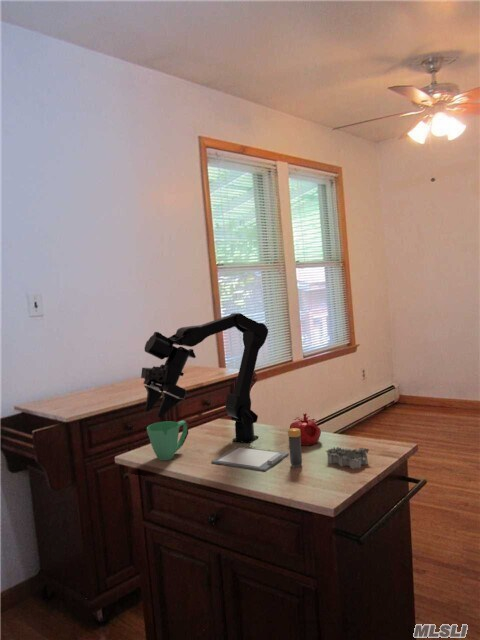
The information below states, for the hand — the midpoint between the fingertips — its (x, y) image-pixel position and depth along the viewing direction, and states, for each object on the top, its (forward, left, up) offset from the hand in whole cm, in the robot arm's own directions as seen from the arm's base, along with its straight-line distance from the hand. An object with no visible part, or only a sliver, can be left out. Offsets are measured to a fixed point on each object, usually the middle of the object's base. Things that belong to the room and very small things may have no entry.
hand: (152, 414), depth 146 cm
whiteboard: (-13, +25, -15) cm, 32 cm away
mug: (-7, 0, -15) cm, 17 cm away
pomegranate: (-32, +34, -15) cm, 49 cm away
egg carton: (-20, +52, -15) cm, 58 cm away
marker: (-13, +40, -15) cm, 44 cm away
